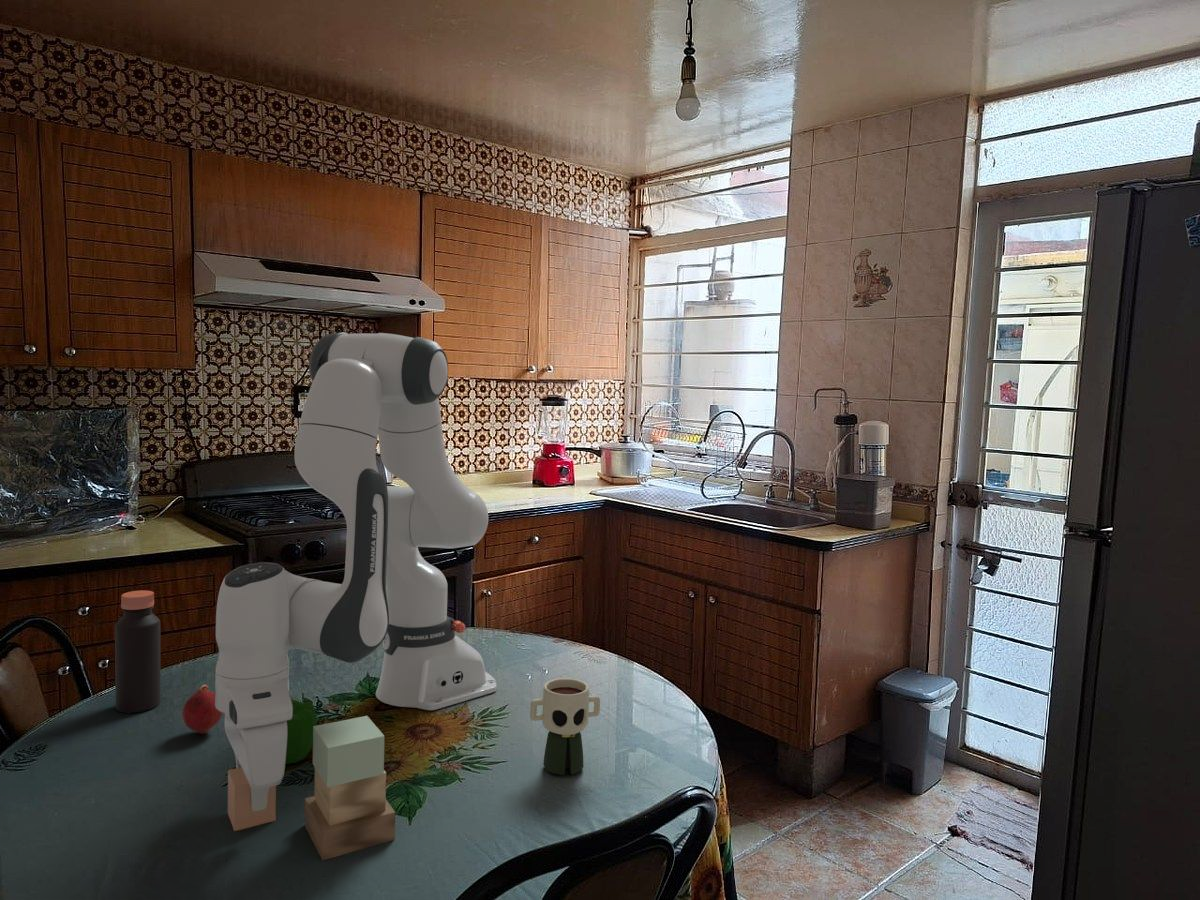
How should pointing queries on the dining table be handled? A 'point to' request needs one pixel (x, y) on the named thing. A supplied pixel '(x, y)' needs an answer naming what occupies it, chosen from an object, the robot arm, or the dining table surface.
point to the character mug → (564, 722)
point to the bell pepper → (300, 731)
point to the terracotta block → (247, 802)
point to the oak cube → (350, 798)
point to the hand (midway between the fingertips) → (251, 791)
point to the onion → (201, 711)
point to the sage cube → (348, 751)
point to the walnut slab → (348, 831)
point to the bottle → (137, 654)
